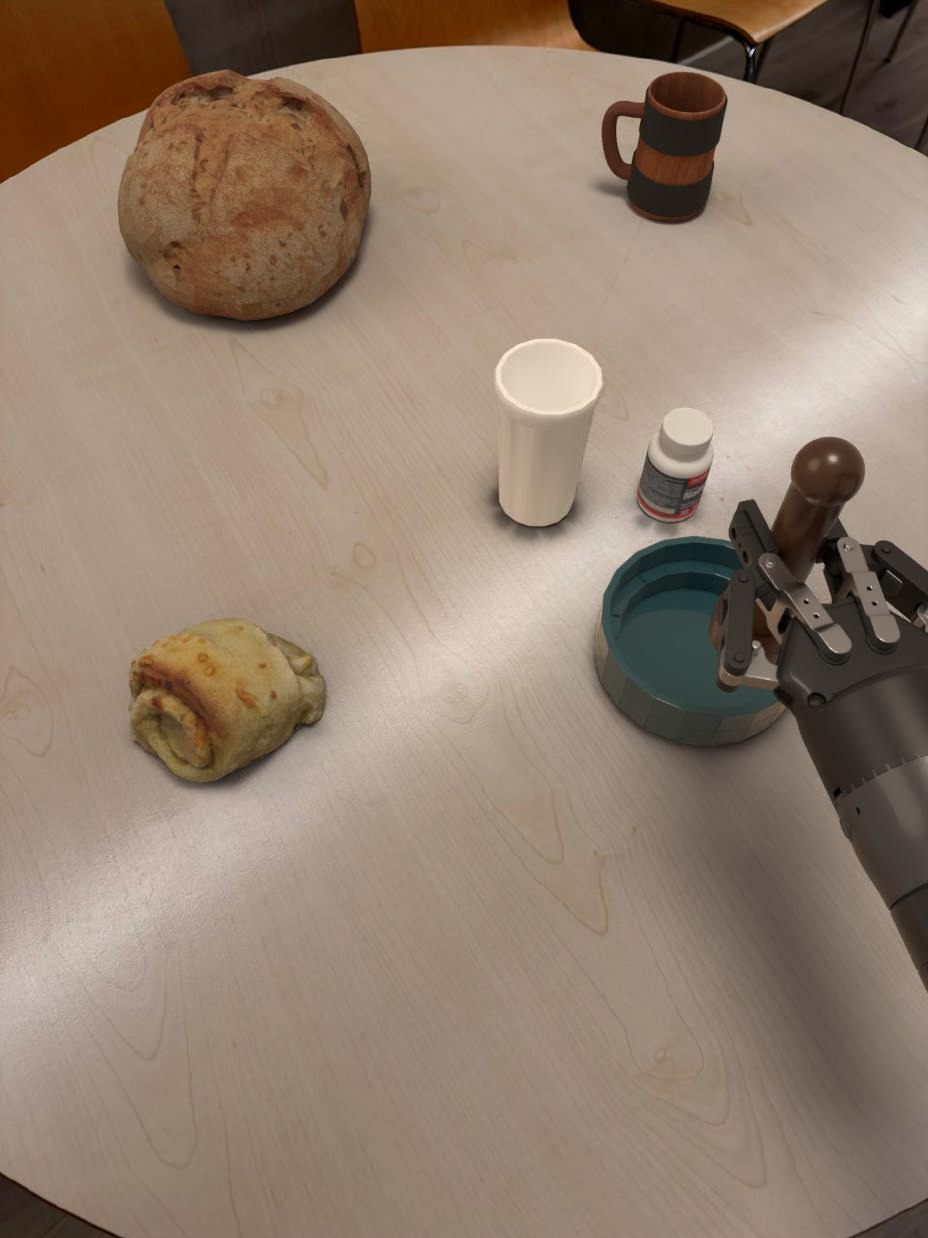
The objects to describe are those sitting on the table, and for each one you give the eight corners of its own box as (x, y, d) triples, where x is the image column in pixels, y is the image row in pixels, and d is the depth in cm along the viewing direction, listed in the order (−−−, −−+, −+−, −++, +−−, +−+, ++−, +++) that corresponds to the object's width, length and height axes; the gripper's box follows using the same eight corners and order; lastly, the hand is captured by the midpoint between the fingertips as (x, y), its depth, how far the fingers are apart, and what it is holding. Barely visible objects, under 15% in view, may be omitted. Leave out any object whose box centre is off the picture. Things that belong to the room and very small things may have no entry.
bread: (336, 346, 96) (319, 206, 83) (98, 317, 98) (45, 176, 85) (391, 175, 110) (384, 33, 97) (181, 152, 112) (147, 10, 99)
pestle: (760, 586, 64) (846, 394, 50) (812, 650, 62) (918, 466, 48) (691, 619, 63) (760, 430, 49) (742, 685, 60) (829, 507, 46)
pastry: (109, 776, 73) (74, 726, 66) (161, 628, 79) (134, 569, 73) (304, 802, 72) (288, 754, 65) (340, 650, 78) (329, 592, 72)
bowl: (717, 551, 84) (732, 509, 79) (834, 697, 77) (858, 660, 72) (556, 622, 80) (563, 583, 75) (664, 784, 73) (679, 751, 68)
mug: (596, 167, 111) (610, 60, 101) (707, 178, 110) (732, 71, 100) (589, 217, 107) (603, 110, 97) (705, 229, 106) (732, 122, 96)
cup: (524, 553, 84) (536, 433, 71) (469, 488, 87) (471, 363, 75) (602, 511, 86) (627, 387, 74) (546, 449, 90) (560, 322, 77)
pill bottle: (682, 533, 85) (704, 462, 77) (625, 506, 86) (642, 434, 79) (708, 491, 87) (733, 418, 80) (653, 466, 89) (672, 392, 81)
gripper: (1096, 720, 45) (912, 433, 54) (801, 791, 43) (661, 482, 52) (1017, 788, 51) (864, 521, 60) (756, 852, 49) (638, 567, 58)
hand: (770, 504), depth 56 cm, fingers closed on pestle, 3 cm apart
